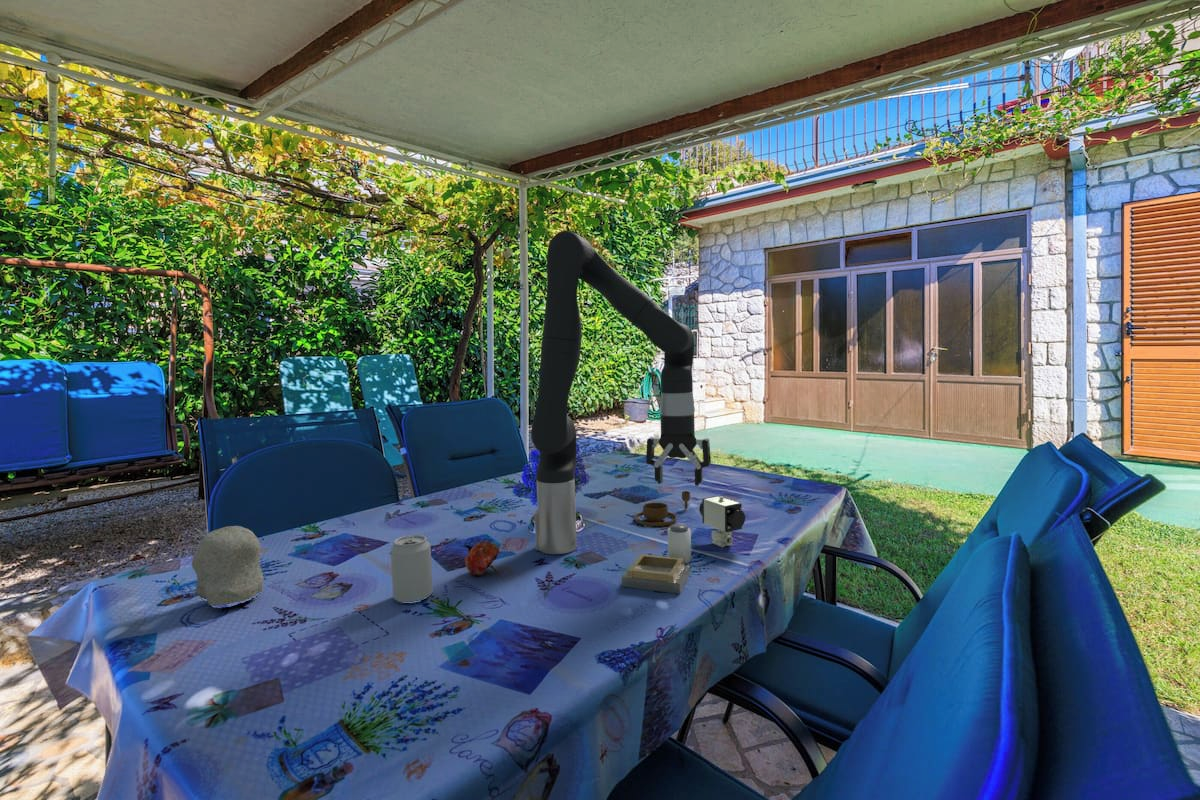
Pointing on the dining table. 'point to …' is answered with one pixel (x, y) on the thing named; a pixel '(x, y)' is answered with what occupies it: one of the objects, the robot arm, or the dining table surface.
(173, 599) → the dining table surface
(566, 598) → the dining table surface
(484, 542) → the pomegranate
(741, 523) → the pneumatic valve
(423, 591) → the can
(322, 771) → the dining table surface
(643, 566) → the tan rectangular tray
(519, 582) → the dining table surface
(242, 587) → the stone
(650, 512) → the place setting
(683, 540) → the white plastic jar
